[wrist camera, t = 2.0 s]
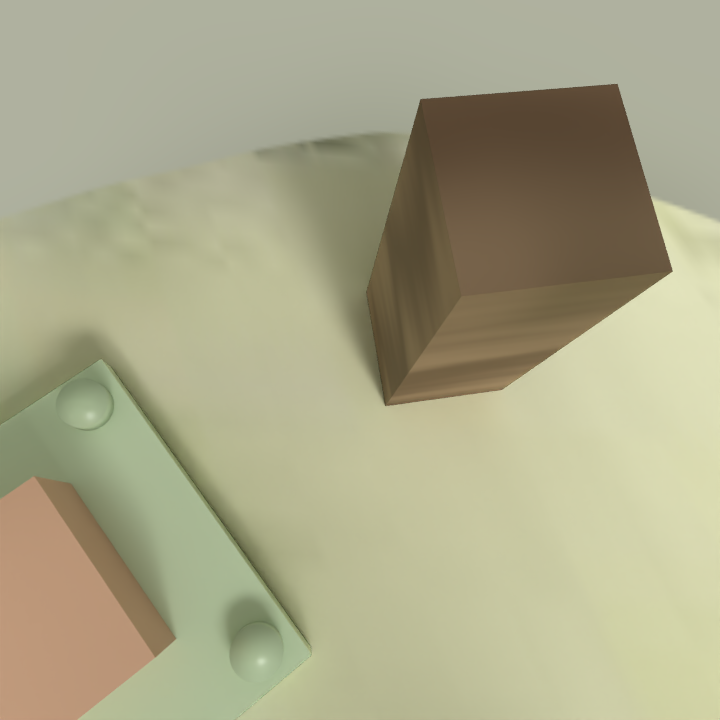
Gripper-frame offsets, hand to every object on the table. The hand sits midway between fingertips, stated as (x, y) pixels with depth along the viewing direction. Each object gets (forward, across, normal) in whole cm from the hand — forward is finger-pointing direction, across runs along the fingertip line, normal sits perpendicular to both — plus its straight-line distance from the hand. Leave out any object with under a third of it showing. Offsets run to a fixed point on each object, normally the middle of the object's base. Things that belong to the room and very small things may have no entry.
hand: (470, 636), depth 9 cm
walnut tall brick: (+15, -5, +4) cm, 16 cm away
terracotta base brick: (+11, +10, +7) cm, 16 cm away
